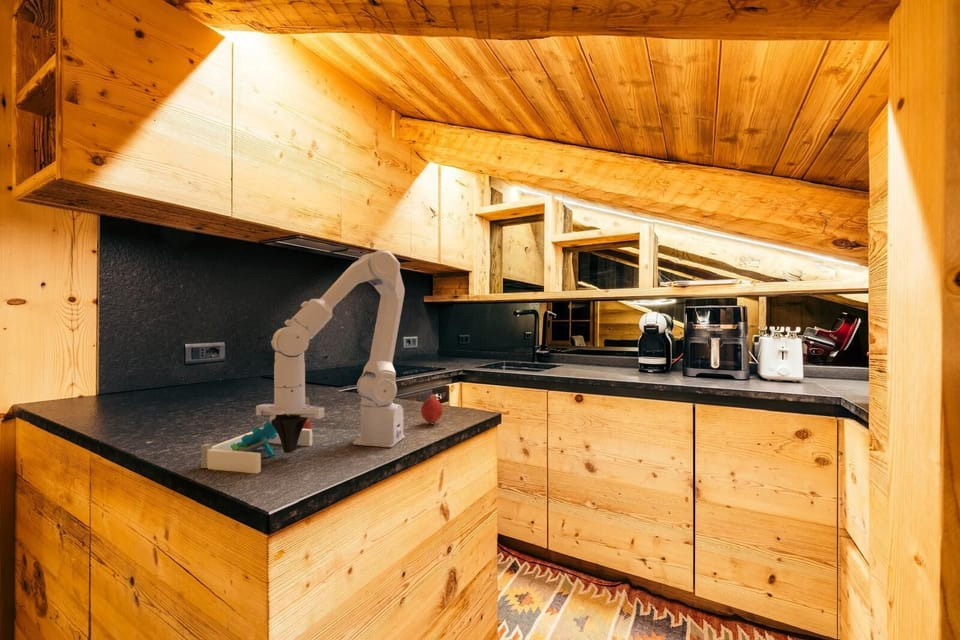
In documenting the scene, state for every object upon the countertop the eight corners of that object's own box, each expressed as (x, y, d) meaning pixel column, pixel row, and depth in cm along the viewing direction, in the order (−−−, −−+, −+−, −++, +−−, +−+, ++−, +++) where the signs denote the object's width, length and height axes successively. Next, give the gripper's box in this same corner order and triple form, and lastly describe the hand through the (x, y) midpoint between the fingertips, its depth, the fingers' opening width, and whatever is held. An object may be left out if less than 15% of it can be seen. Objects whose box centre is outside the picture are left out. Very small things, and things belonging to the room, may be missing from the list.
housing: (312, 444, 91) (312, 425, 91) (256, 473, 74) (256, 450, 74) (266, 440, 94) (265, 422, 94) (201, 468, 77) (201, 445, 77)
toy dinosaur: (271, 437, 91) (287, 411, 87) (285, 457, 90) (302, 432, 85) (220, 458, 82) (235, 430, 77) (235, 482, 80) (251, 455, 76)
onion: (428, 428, 105) (428, 397, 105) (417, 423, 109) (417, 394, 109) (446, 424, 109) (447, 395, 109) (435, 420, 113) (435, 391, 113)
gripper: (244, 387, 80) (244, 455, 80) (309, 390, 77) (309, 460, 77) (269, 381, 87) (269, 444, 87) (330, 384, 84) (330, 448, 84)
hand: (290, 451), depth 83 cm, fingers closed
